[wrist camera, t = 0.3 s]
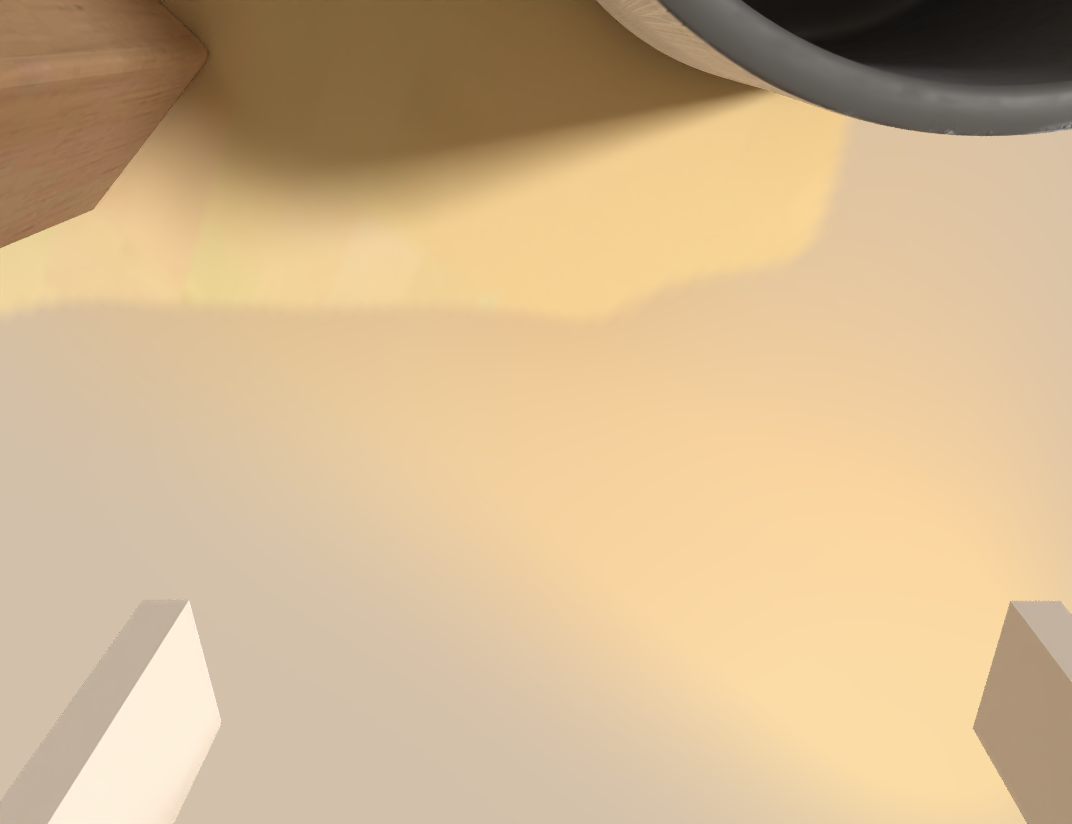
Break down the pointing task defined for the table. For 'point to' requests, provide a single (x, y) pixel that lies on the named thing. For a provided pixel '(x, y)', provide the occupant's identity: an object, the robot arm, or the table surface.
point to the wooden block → (81, 100)
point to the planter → (882, 56)
